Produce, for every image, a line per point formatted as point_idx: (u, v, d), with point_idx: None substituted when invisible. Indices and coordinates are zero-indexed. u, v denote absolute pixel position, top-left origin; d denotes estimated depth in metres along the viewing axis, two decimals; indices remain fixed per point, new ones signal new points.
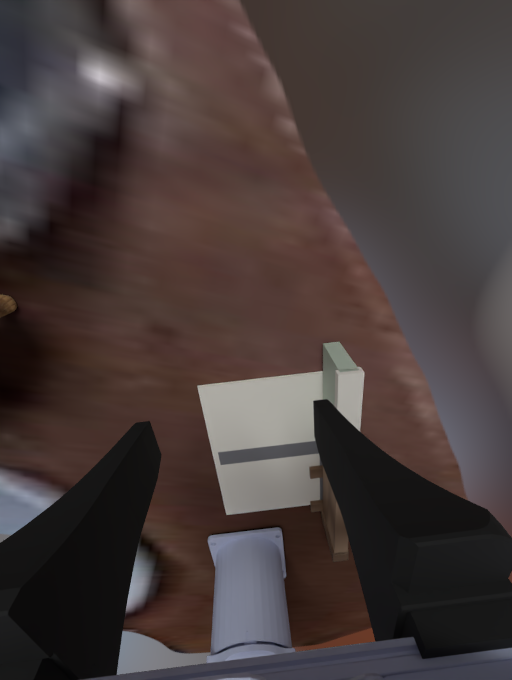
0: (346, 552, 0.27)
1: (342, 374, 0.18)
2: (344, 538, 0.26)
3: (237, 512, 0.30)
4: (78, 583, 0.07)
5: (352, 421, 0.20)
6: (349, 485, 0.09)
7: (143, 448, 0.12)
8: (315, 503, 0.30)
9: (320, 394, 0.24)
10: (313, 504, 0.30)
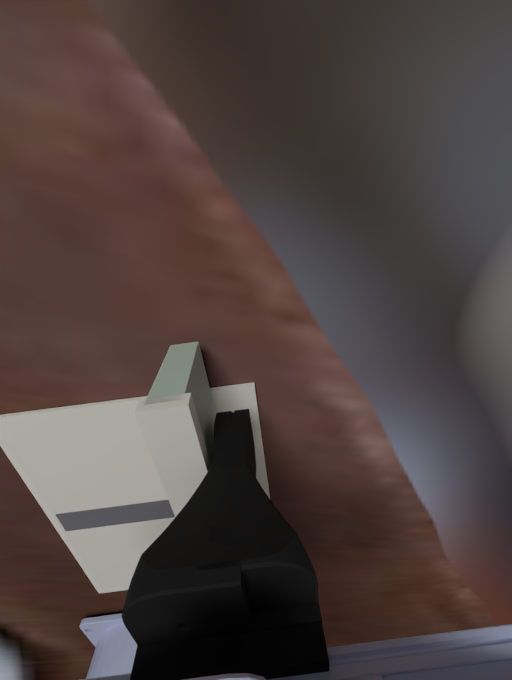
0: None
1: (143, 410, 0.09)
2: None
3: (114, 589, 0.21)
4: None
5: None
6: None
7: (250, 435, 0.12)
8: None
9: None
10: None
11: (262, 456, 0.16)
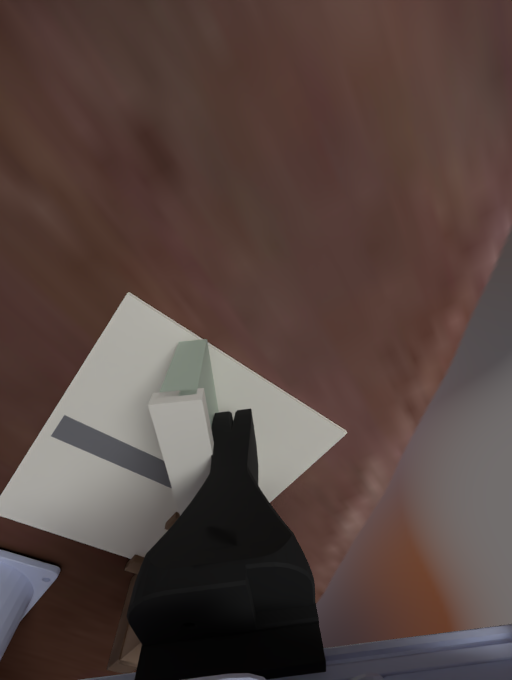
0: (137, 664, 0.16)
1: (157, 403, 0.09)
2: None
3: (13, 517, 0.17)
4: None
5: None
6: None
7: (253, 434, 0.12)
8: (140, 562, 0.19)
9: (278, 431, 0.16)
10: (136, 562, 0.19)
11: (289, 483, 0.17)
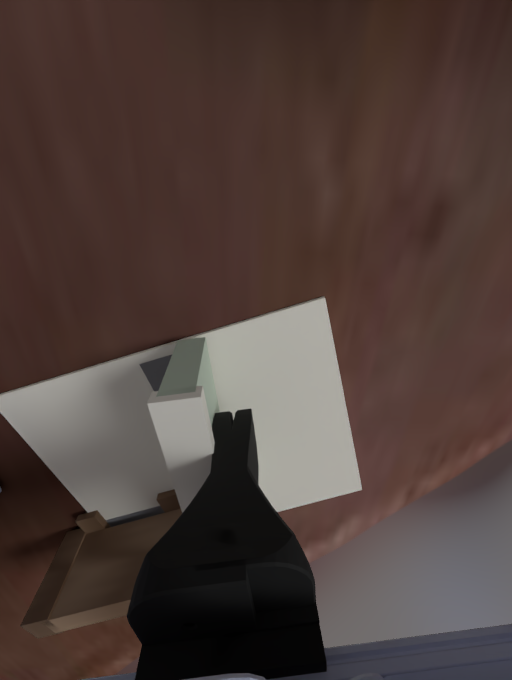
0: (59, 631, 0.14)
1: (156, 401, 0.09)
2: (98, 618, 0.14)
3: (9, 416, 0.14)
4: None
5: None
6: None
7: (253, 434, 0.12)
8: (98, 520, 0.17)
9: (319, 463, 0.17)
10: (96, 519, 0.17)
11: (288, 508, 0.19)
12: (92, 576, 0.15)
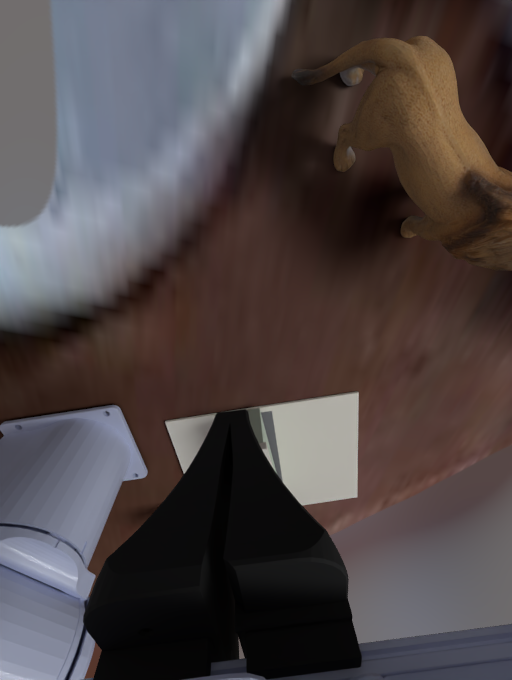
0: None
1: None
2: None
3: (171, 432, 0.25)
4: (219, 565, 0.07)
5: None
6: None
7: None
8: None
9: (335, 478, 0.28)
10: None
11: (310, 503, 0.30)
12: None
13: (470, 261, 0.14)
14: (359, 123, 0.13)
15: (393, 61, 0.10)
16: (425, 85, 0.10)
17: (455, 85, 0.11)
